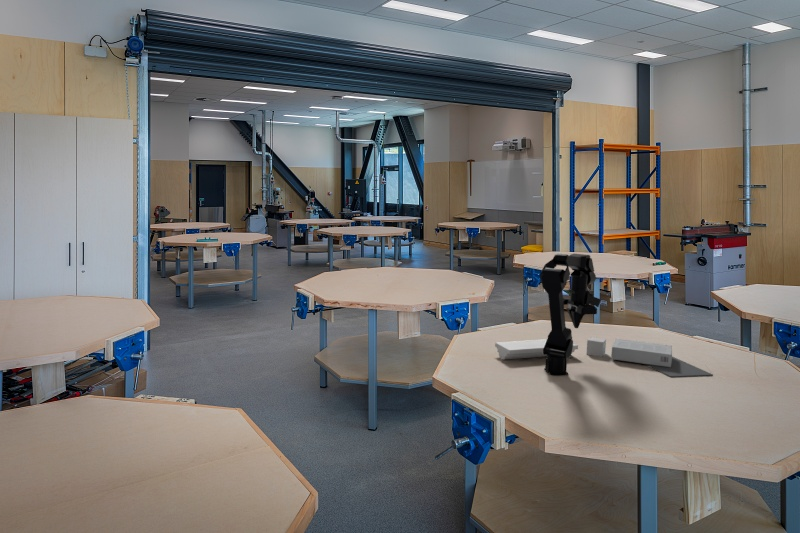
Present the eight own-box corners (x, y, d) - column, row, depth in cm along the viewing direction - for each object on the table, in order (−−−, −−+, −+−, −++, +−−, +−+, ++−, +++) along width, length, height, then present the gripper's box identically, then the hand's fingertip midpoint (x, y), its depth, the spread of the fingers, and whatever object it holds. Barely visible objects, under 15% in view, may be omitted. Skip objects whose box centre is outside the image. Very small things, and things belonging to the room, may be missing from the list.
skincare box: (670, 369, 209) (671, 357, 223) (672, 354, 208) (672, 343, 222) (610, 360, 218) (614, 349, 232) (611, 346, 217) (615, 336, 231)
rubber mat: (668, 355, 227) (668, 354, 227) (713, 375, 203) (713, 374, 202) (629, 356, 224) (629, 355, 224) (670, 377, 200) (670, 376, 199)
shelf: (494, 355, 223) (495, 342, 222) (560, 350, 232) (561, 338, 231) (508, 363, 212) (509, 350, 211) (577, 358, 221) (578, 345, 220)
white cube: (586, 354, 226) (587, 339, 226) (589, 351, 231) (590, 336, 231) (602, 357, 223) (602, 342, 222) (605, 353, 228) (606, 339, 228)
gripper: (612, 291, 205) (609, 333, 207) (586, 283, 223) (583, 322, 225) (583, 291, 203) (580, 334, 205) (559, 283, 221) (557, 322, 223)
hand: (576, 328), depth 214 cm, fingers closed
